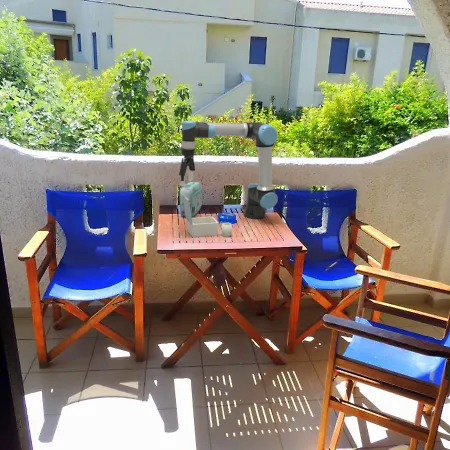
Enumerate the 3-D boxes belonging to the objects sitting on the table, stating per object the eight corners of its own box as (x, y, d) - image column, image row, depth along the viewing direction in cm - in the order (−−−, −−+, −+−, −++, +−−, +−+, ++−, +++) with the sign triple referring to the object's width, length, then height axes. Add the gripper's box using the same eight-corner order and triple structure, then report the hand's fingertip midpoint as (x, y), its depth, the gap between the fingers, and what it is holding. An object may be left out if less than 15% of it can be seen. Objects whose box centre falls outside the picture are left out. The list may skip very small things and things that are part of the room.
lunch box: (193, 219, 279) (193, 188, 271) (178, 218, 280) (178, 187, 273) (203, 208, 303) (204, 179, 296) (189, 206, 305) (190, 177, 298)
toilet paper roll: (229, 233, 259) (229, 222, 257) (232, 236, 254) (233, 225, 251) (220, 233, 257) (220, 222, 255) (223, 237, 252) (223, 226, 249)
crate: (212, 228, 265) (212, 216, 262) (218, 235, 255) (218, 222, 252) (187, 230, 260) (187, 218, 257) (192, 237, 249) (192, 224, 247)
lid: (183, 193, 251) (182, 194, 251) (188, 199, 240) (187, 200, 240) (187, 217, 257) (185, 218, 257) (192, 224, 247) (191, 224, 246)
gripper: (189, 144, 256) (188, 178, 263) (174, 150, 233) (173, 187, 240) (201, 145, 254) (199, 179, 261) (186, 152, 231) (185, 189, 239)
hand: (186, 183), depth 251 cm, fingers open, 13 cm apart
